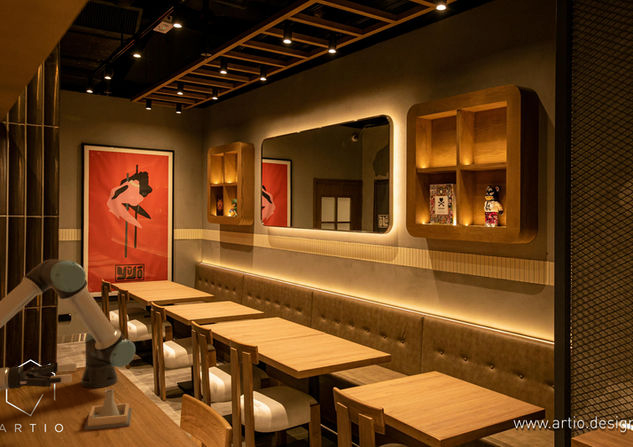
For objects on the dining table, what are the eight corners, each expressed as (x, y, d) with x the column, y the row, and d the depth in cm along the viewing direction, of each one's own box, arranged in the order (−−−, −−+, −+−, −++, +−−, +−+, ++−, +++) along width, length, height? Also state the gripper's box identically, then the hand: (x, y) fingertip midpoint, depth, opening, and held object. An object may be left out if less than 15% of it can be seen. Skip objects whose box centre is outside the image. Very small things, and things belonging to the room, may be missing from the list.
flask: (112, 422, 190) (112, 394, 189) (94, 420, 191) (94, 393, 191) (123, 414, 197) (123, 388, 197) (105, 412, 198) (105, 386, 198)
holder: (89, 414, 199) (89, 405, 199) (131, 410, 203) (131, 401, 203) (84, 430, 185) (84, 420, 184) (129, 425, 189) (129, 416, 189)
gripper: (17, 377, 200) (78, 371, 206) (0, 401, 176) (69, 393, 182) (17, 358, 199) (78, 352, 206) (-1, 379, 176) (68, 372, 182)
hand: (74, 372), depth 194 cm, fingers open, 13 cm apart
